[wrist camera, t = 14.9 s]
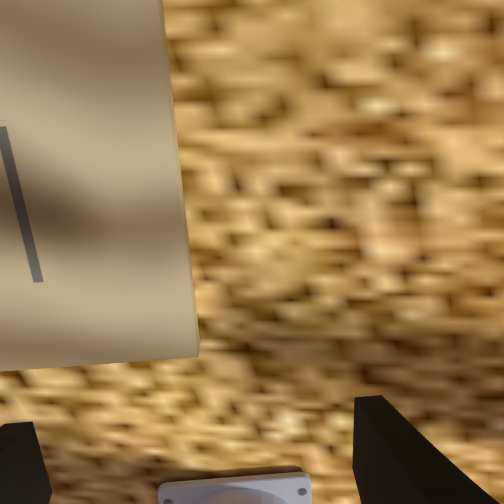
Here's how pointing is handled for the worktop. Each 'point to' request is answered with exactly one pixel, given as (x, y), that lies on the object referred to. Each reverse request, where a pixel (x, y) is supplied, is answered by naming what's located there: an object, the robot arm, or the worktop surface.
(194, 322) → the board
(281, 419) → the worktop surface
